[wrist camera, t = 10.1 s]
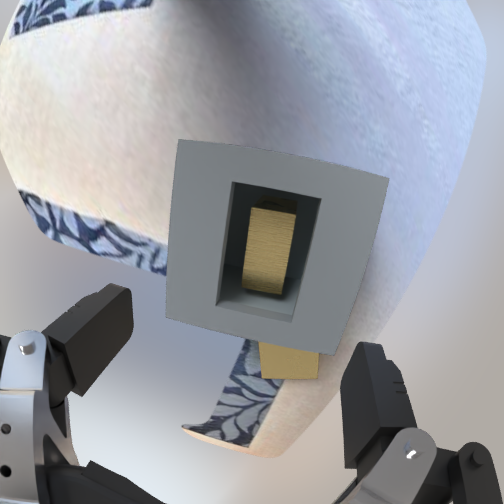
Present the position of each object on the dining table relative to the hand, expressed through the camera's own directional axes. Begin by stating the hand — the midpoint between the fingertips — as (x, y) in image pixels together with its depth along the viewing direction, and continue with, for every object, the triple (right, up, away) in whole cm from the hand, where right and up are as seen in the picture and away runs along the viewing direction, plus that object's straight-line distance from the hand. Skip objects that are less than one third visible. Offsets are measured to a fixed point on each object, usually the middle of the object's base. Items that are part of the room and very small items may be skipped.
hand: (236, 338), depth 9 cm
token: (+5, -7, +21) cm, 23 cm away
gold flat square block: (+2, +1, +15) cm, 15 cm away
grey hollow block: (+3, +6, +17) cm, 18 cm away
